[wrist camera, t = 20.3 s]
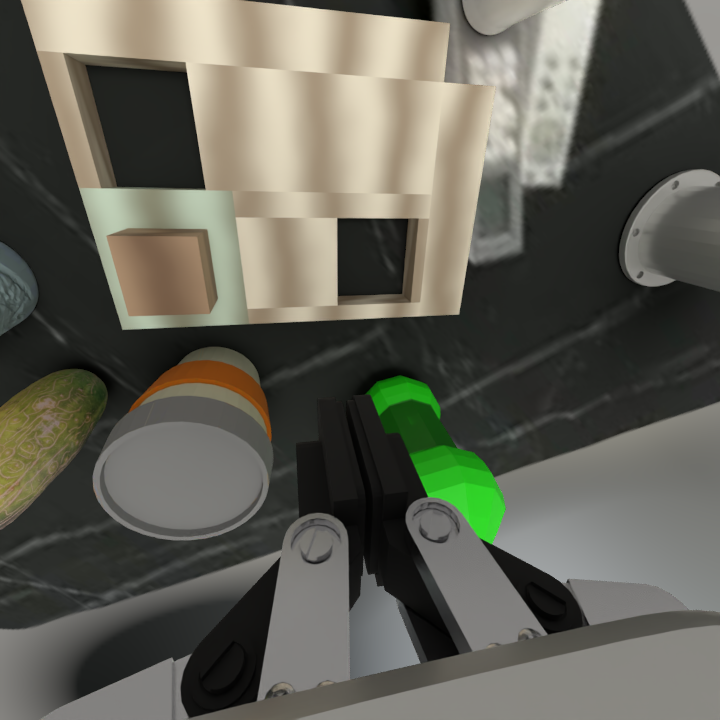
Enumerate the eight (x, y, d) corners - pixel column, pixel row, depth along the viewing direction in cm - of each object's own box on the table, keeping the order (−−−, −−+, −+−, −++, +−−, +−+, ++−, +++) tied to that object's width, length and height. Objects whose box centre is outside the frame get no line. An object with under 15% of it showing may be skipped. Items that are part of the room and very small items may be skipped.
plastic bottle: (435, 361, 44) (586, 549, 22) (419, 430, 48) (530, 640, 27) (355, 360, 41) (434, 568, 20) (346, 432, 46) (403, 663, 24)
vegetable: (45, 350, 34) (-197, 532, 17) (116, 346, 36) (-44, 512, 18) (68, 402, 37) (-120, 603, 20) (133, 397, 38) (8, 583, 21)
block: (207, 229, 30) (196, 236, 26) (217, 298, 32) (210, 313, 29) (127, 228, 28) (106, 235, 25) (146, 300, 31) (128, 316, 28)
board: (485, 42, 30) (505, 29, 27) (447, 305, 40) (458, 314, 38) (42, -3, 24) (13, -25, 21) (134, 317, 35) (122, 329, 32)
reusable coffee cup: (234, 444, 44) (212, 559, 31) (132, 393, 38) (53, 507, 25) (298, 373, 41) (305, 467, 28) (198, 306, 35) (148, 385, 22)
